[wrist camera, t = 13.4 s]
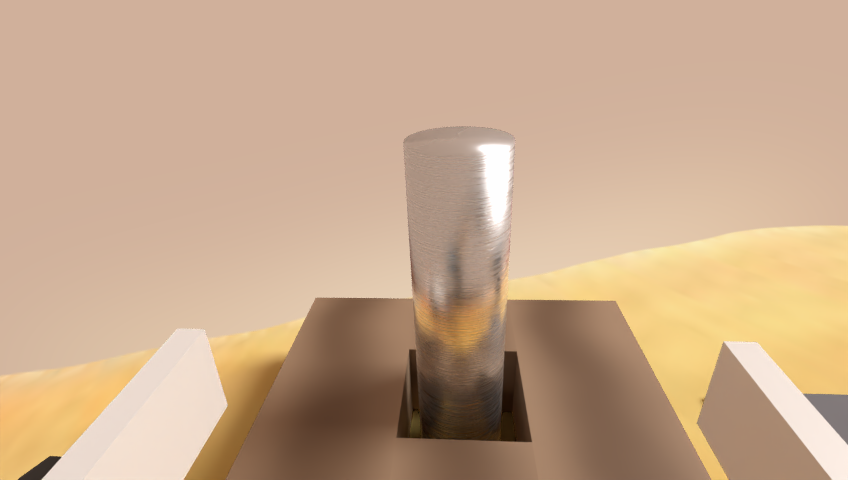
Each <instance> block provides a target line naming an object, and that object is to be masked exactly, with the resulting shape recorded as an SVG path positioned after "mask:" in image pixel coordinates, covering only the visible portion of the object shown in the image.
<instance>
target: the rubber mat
mask: <svg viewBox="0 0 848 480" xmlns="http://www.w3.org/2000/svg"><path fill="white" fill-rule="evenodd" d="M803 395H804V396H805V397H806V398H807V399H808V401H809V402H810V403H811V404H812V405H813V406H814V407H815V408H816V410H817V411H818V412H819V413H820V414H821V415H822V416H823V417H824V419H825V420H826V421H827V422H828V423H829V424H830V425H831V427H832V428H833V429H834V430H835V431H836V432H837V433H838V434H839V436H840V437H841V438H842V439H843V440H844V441H845V442H846V444H847V445H848V395H832V394H803Z"/></svg>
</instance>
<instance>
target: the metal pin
mask: <svg viewBox="0 0 848 480" xmlns="http://www.w3.org/2000/svg"><path fill="white" fill-rule="evenodd" d="M403 143H404V161H405V178H406V194H407V211H408V227H409V243H410V260H411V276H412V293H413V310H414V327H415V344H416V360H417V377H418V393H419V410H420V427H421V439H448V440H478V441H500V429H501V410H502V390H503V370H504V351H505V331H506V312H507V292H508V273H509V252H510V234H511V233H510V232H511V214H512V193H513V174H514V155H515V138H514V137H513V135H511V134H509V133H507V132H505V131H501V130H497V129H492V128H484V127H468V126H467V127H466V126H461V127H460V126H459V127H443V128H435V129H429V130H425V131H420V132H417V133H414V134H412V135H410V136H408V137H406V138H405V139H404V142H403Z"/></svg>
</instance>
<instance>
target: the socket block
mask: <svg viewBox="0 0 848 480" xmlns="http://www.w3.org/2000/svg"><path fill="white" fill-rule="evenodd" d="M413 409H419V393H418V377H417V360H416V344H415V327H414V310H413V299H388V298H384V299H383V298H316V299H315V301H314V303H313V305H312V307H311V309H310V311H309V313H308V315H307V317H306V319H305V321H304V323H303V325H302V327H301V329H300V331H299V333H298V335H297V337H296V339H295V341H294V343H293V345H292V347H291V349H290V351H289V353H288V355H287V357H286V359H285V361H284V363H283V365H282V367H281V369H280V371H279V373H278V375H277V377H276V379H275V381H274V383H273V385H272V387H271V389H270V391H269V393H268V395H267V397H266V399H265V401H264V403H263V405H262V407H261V409H260V411H259V413H258V415H257V417H256V419H255V421H254V423H253V425H252V427H251V429H250V431H249V433H248V435H247V437H246V439H245V441H244V443H243V445H242V447H241V449H240V451H239V453H238V455H237V457H236V459H235V461H234V463H233V465H232V467H231V469H230V471H229V473H228V475H227V477H226V479H225V480H711V478H710V476H709V474H708V473H707V471H706V469H705V467H704V465H703V463H702V461H701V460H700V458H699V456H698V454H697V452H696V450H695V448H694V447H693V445H692V443H691V441H690V439H689V437H688V435H687V433H686V432H685V430H684V428H683V426H682V424H681V422H680V420H679V419H678V417H677V415H676V413H675V411H674V409H673V407H672V406H671V404H670V402H669V400H668V398H667V396H666V394H665V393H664V391H663V389H662V387H661V385H660V383H659V381H658V379H657V378H656V376H655V374H654V372H653V370H652V368H651V366H650V365H649V363H648V361H647V359H646V357H645V355H644V353H643V352H642V350H641V348H640V346H639V344H638V342H637V340H636V339H635V337H634V335H633V333H632V331H631V329H630V327H629V325H628V324H627V322H626V320H625V318H624V316H623V314H622V312H621V311H620V309H619V307H618V305H617V303H616V301H572V300H507V312H506V331H505V351H504V370H503V390H502V410H501V412H512V413H513V421H514V428H515V436H516V442H507V441H478V440H448V439H419V438H409V436H410V428H411V419H412V411H413Z"/></svg>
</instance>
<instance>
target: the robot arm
mask: <svg viewBox="0 0 848 480" xmlns="http://www.w3.org/2000/svg"><path fill="white" fill-rule="evenodd" d="M227 406H228V404H227V401H226V398H225V395H224V391H223V388H222V385H221V381H220V378H219V375H218V371H217V368H216V365H215V361H214V358H213V355H212V352H211V348H210V345H209V342H208V338H207V335H206V332H205V329H177V330H176V331H175V332H174V333H173V334H172V335H171V336H170V337H169V338H168V340H167V341H166V342H165V343H164V344H163V345H162V346H161V347H160V348H159V350H158V351H157V352H156V353H155V354H154V355H153V356H152V357H151V358H150V360H149V361H148V362H147V363H146V364H145V365H144V366H143V367H142V368H141V370H140V371H139V372H138V373H137V374H136V375H135V376H134V377H133V378H132V380H131V381H130V382H129V383H128V384H127V385H126V386H125V387H124V388H123V390H122V391H121V392H120V393H119V394H118V395H117V396H116V397H115V398H114V400H113V401H112V402H111V403H110V404H109V405H108V406H107V407H106V408H105V410H104V411H103V412H102V413H101V414H100V415H99V416H98V417H97V419H96V420H95V421H94V422H93V423H92V424H91V425H90V426H89V427H88V429H87V430H86V431H85V432H84V433H83V434H82V435H81V436H80V437H79V439H78V440H77V441H76V442H75V443H74V444H73V445H72V446H71V447H70V449H69V450H68V451H67V452H66V453H65V454H64V455H63V456H62V457H57V456H49V457H48V458H47V459H45V460H44V461H42V462H41V463H40V464H38V465H37V466H36V467H34V468H33V469H31V470H30V471H29V472H27V473H26V474H24V475H23V476H22V477H20V478H19V479H18V480H184V478H185V476H186V475H187V473H188V471H189V470H190V468H191V466H192V465H193V463H194V461H195V459H196V458H197V456H198V454H199V453H200V451H201V449H202V448H203V446H204V444H205V443H206V441H207V439H208V438H209V436H210V434H211V433H212V431H213V429H214V428H215V426H216V424H217V423H218V421H219V419H220V418H221V416H222V414H223V413H224V411H225V409H226V408H227ZM697 424H698V426H699V428H700V429H701V431H702V433H703V435H704V436H705V438H706V440H707V442H708V443H709V445H710V447H711V449H712V451H713V452H714V454H715V456H716V458H717V459H718V461H719V463H720V465H721V466H722V468H723V470H724V472H725V474H726V475H727V477H728V479H729V480H848V445H847V444H846V442H845V441H844V440H843V439H842V438H841V437H840V436H839V434H838V433H837V432H836V431H835V430H834V429H833V428H832V427H831V425H830V424H829V423H828V422H827V421H826V420H825V419H824V417H823V416H822V415H821V414H820V413H819V412H818V411H817V410H816V408H815V407H814V406H813V405H812V404H811V403H810V402H809V401H808V399H807V398H806V397H805V396H804V395H803V394H802V393H801V391H800V390H799V389H798V388H797V387H796V386H795V385H794V384H793V382H792V381H791V380H790V379H789V378H788V377H787V376H786V374H785V373H784V372H783V371H782V370H781V369H780V368H779V367H778V365H777V364H776V363H775V362H774V361H773V360H772V359H771V357H770V356H769V355H768V354H767V353H766V352H765V351H764V350H763V348H762V347H761V346H760V345H759V344H758V343H757V342H728V341H724V342H723V345H722V348H721V351H720V354H719V357H718V360H717V363H716V366H715V369H714V372H713V375H712V378H711V381H710V385H709V388H708V391H707V394H706V397H705V400H704V403H703V406H702V409H701V412H700V415H699V418H698V421H697Z"/></svg>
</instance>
